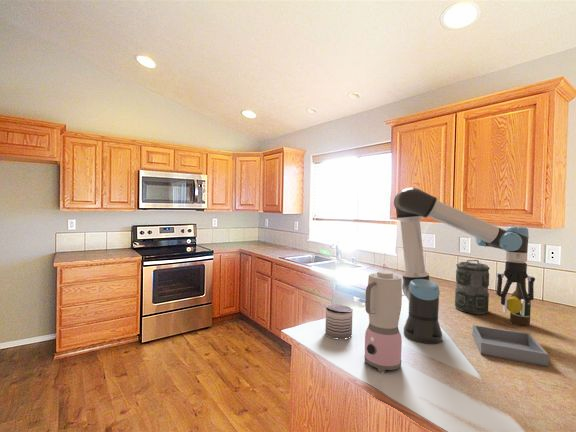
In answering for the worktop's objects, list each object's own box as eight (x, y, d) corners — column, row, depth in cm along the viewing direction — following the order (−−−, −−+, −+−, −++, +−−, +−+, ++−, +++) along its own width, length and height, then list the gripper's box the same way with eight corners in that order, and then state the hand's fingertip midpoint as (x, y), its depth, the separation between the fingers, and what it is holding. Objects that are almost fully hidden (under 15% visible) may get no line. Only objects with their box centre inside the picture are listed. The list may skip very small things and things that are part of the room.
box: (480, 354, 111) (481, 342, 111) (472, 334, 129) (472, 324, 129) (548, 367, 103) (548, 354, 103) (528, 344, 121) (529, 333, 121)
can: (320, 331, 130) (321, 303, 129) (342, 327, 134) (343, 301, 134) (333, 341, 119) (334, 312, 119) (357, 338, 123) (358, 309, 123)
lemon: (506, 311, 134) (507, 293, 134) (521, 314, 131) (522, 296, 131) (505, 314, 130) (506, 296, 130) (521, 317, 127) (522, 298, 126)
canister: (470, 315, 154) (472, 262, 154) (448, 306, 170) (449, 257, 170) (495, 314, 158) (497, 262, 157) (471, 305, 173) (473, 257, 173)
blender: (379, 352, 111) (381, 267, 110) (408, 366, 101) (411, 273, 100) (350, 363, 102) (352, 271, 101) (379, 380, 92) (382, 278, 91)
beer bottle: (511, 319, 150) (513, 272, 150) (531, 323, 145) (532, 275, 145) (508, 323, 145) (510, 274, 145) (528, 327, 139) (530, 277, 139)
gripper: (493, 260, 130) (490, 312, 131) (546, 265, 123) (543, 320, 123) (489, 258, 137) (486, 307, 138) (539, 262, 130) (536, 314, 130)
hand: (513, 313), depth 130 cm, fingers closed on lemon, 5 cm apart
